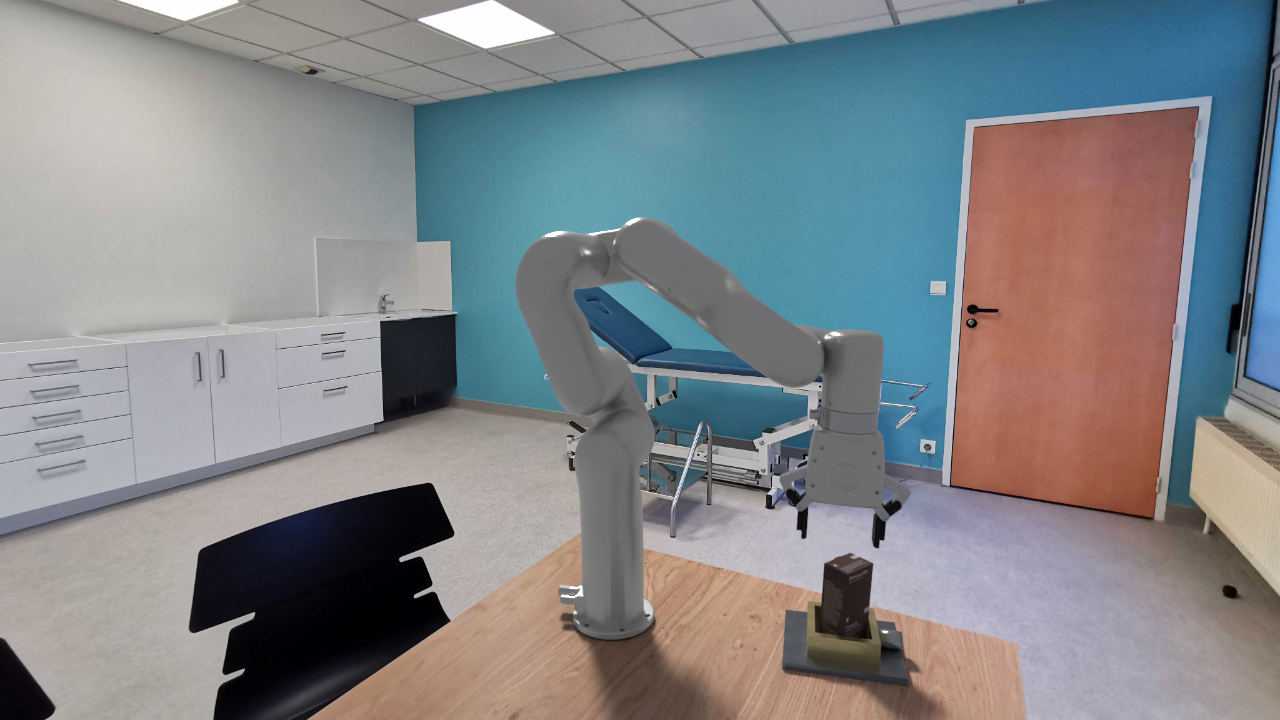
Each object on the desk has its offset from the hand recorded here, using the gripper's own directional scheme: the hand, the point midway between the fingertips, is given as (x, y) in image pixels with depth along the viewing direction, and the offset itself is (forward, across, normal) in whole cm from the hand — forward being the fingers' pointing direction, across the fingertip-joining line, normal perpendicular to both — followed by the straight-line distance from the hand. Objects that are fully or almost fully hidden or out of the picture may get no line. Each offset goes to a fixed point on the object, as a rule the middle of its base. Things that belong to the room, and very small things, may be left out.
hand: (839, 539), depth 91 cm
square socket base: (+16, +1, 0) cm, 16 cm away
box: (+15, +2, 0) cm, 15 cm away
